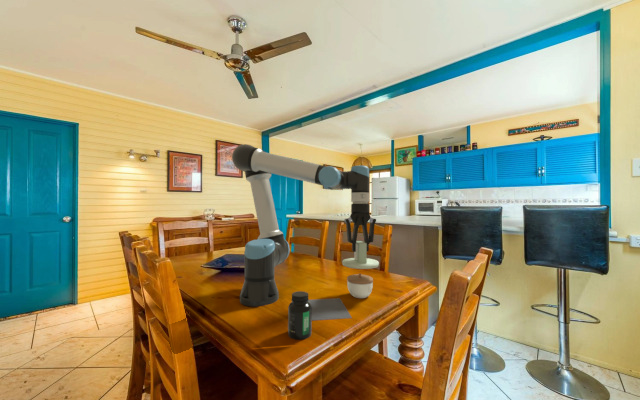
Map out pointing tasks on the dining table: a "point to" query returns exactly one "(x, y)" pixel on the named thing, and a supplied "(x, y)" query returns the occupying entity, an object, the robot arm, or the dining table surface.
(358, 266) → the lid
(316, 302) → the mat
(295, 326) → the supplement bottle
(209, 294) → the dining table surface
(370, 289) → the lidded jar
